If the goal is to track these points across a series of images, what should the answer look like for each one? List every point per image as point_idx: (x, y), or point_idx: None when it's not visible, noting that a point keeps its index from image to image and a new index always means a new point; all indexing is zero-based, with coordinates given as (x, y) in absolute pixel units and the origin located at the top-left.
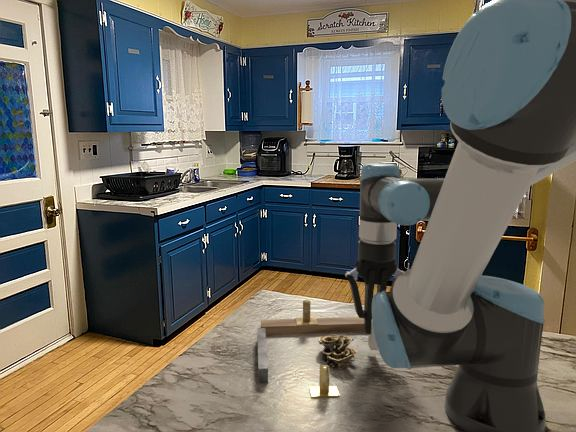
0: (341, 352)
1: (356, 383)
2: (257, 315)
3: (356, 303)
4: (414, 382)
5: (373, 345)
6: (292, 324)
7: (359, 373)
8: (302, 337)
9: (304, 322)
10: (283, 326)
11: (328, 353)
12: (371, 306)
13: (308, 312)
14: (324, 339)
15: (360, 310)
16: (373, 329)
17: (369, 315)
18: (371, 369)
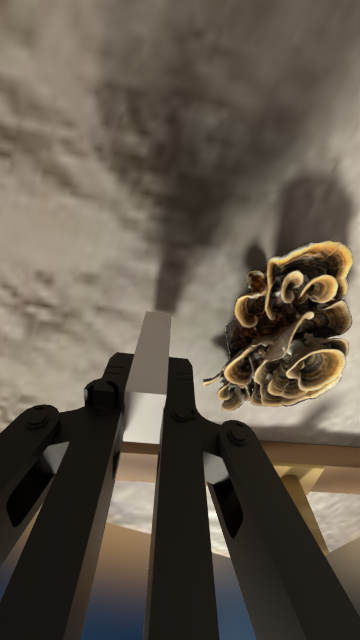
0: (292, 306)
1: (297, 138)
2: (350, 512)
3: (310, 543)
4: (64, 91)
5: (161, 322)
6: (330, 471)
7: (251, 212)
8: (307, 428)
9: (298, 474)
10: (357, 466)
11: (341, 306)
12: (169, 498)
13: (299, 507)
14: (327, 376)
15: (251, 470)
16: (160, 362)
17: (182, 429)
18: (198, 231)
